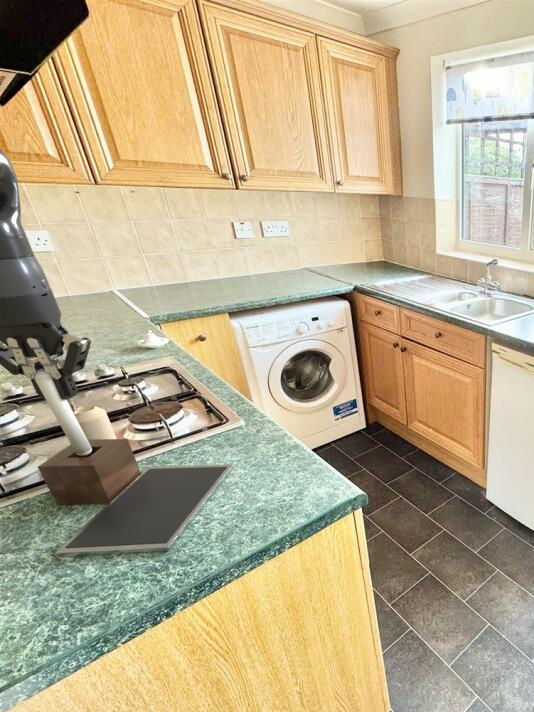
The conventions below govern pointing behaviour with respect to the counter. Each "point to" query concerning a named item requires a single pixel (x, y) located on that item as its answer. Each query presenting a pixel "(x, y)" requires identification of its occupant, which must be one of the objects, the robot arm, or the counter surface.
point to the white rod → (63, 414)
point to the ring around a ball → (152, 341)
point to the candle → (94, 422)
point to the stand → (90, 473)
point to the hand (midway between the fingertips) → (60, 397)
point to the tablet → (149, 511)
